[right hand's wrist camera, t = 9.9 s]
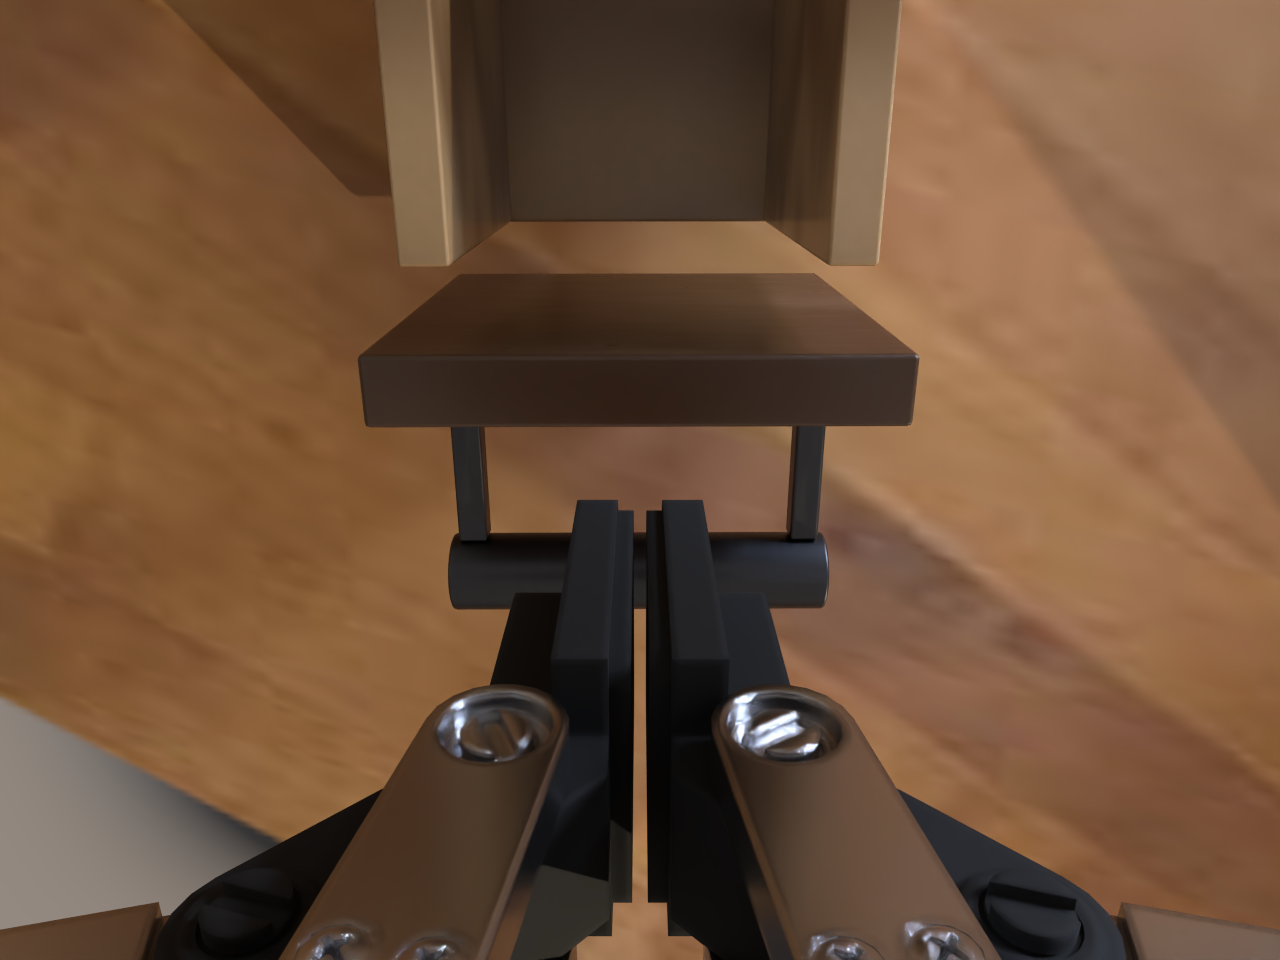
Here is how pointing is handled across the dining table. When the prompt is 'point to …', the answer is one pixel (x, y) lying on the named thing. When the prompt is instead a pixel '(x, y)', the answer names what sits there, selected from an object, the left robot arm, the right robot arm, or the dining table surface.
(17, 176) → the dining table surface
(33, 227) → the dining table surface
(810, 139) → the drawer
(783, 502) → the dining table surface
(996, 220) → the dining table surface
